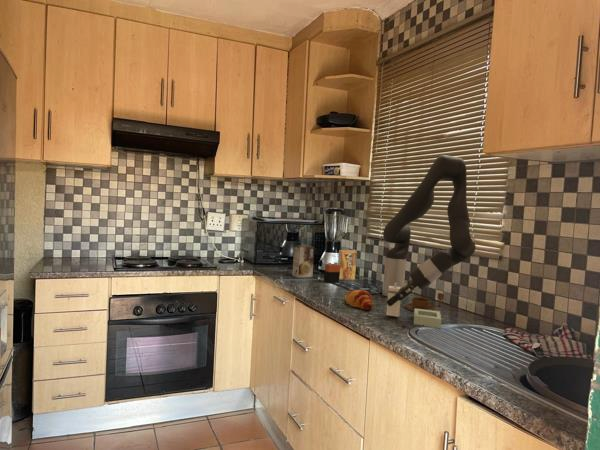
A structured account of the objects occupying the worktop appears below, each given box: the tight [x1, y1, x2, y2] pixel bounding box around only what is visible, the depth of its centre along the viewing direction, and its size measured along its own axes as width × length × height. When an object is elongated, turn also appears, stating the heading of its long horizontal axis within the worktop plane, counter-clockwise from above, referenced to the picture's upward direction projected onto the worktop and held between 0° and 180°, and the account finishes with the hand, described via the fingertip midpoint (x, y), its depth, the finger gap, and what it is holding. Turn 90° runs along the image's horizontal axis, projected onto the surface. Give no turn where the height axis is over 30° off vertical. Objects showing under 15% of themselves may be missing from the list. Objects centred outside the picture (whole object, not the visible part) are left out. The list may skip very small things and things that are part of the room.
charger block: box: [386, 283, 402, 318], centre depth 162 cm, size 5×5×12 cm
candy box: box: [337, 249, 358, 281], centre depth 237 cm, size 9×4×15 cm, turn 107°
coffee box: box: [292, 245, 315, 278], centre depth 234 cm, size 9×6×16 cm
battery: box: [323, 262, 340, 284], centre depth 224 cm, size 4×7×10 cm, turn 113°
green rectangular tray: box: [413, 308, 443, 329], centre depth 160 cm, size 12×9×3 cm
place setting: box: [404, 292, 445, 313], centre depth 179 cm, size 18×20×6 cm
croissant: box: [344, 289, 374, 311], centre depth 178 cm, size 21×10×8 cm, turn 18°
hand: (388, 302), depth 163 cm, fingers closed on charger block, 4 cm apart
